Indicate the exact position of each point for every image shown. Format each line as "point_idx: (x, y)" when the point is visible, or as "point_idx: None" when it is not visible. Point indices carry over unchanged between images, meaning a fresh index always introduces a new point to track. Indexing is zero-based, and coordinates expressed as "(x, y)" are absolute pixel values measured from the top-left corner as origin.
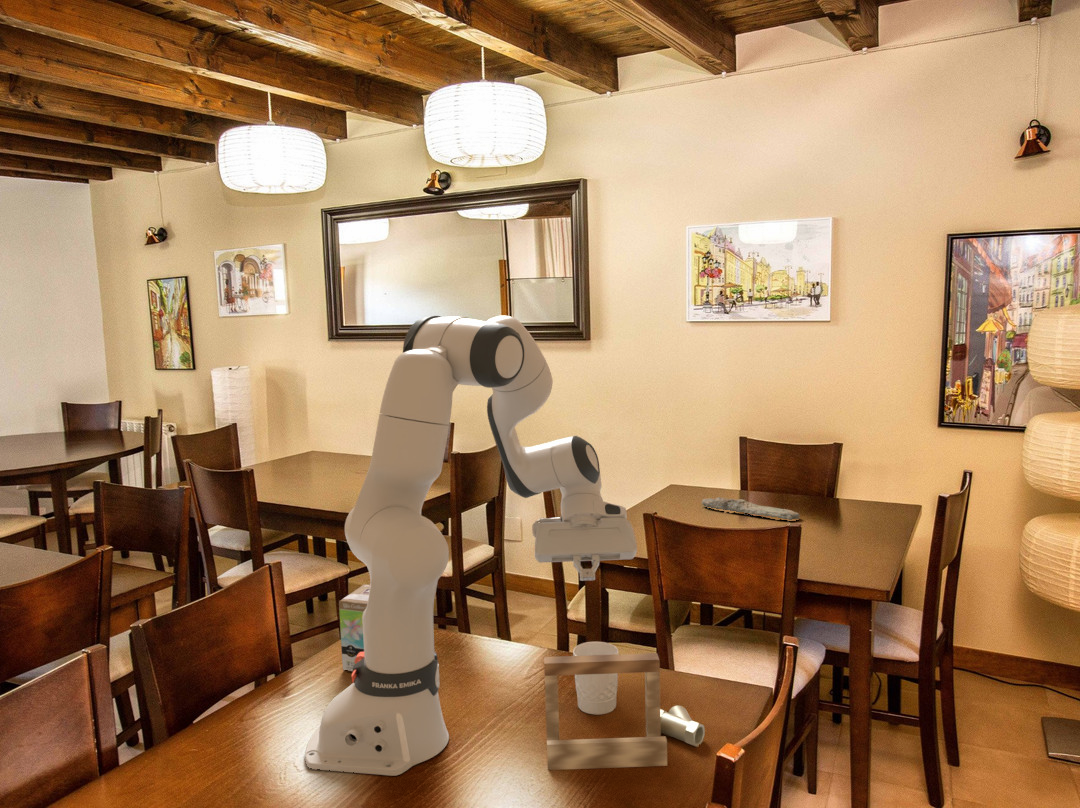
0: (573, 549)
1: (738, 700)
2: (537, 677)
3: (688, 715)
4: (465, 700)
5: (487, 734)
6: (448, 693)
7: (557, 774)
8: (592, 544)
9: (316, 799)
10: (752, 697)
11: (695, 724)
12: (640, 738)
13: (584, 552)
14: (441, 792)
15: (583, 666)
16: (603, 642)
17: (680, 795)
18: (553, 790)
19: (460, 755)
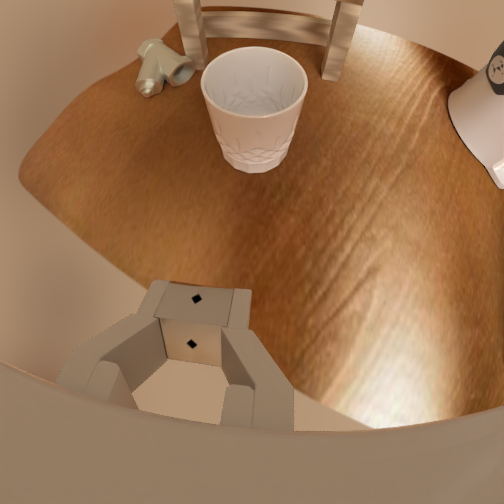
0: (297, 470)
1: (54, 145)
2: (354, 268)
3: (142, 64)
4: (457, 207)
5: (412, 113)
6: (479, 235)
7: None
8: (48, 468)
9: None
10: (38, 153)
11: (149, 40)
12: (227, 14)
13: (167, 421)
14: (424, 51)
15: None
16: (224, 109)
17: (209, 8)
18: None
19: (428, 88)
